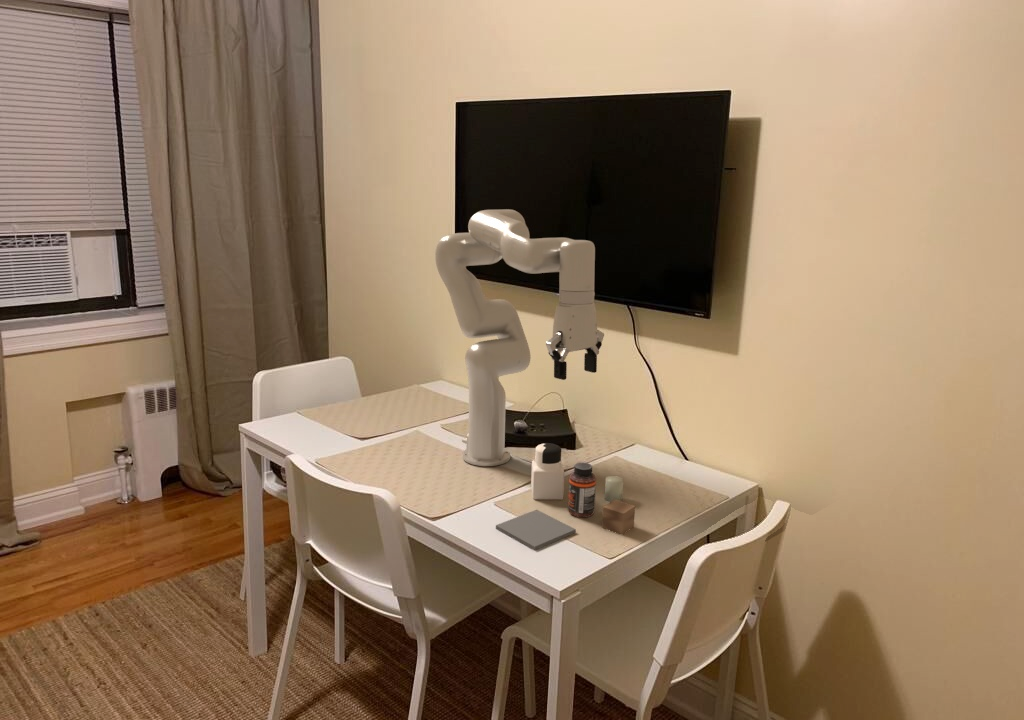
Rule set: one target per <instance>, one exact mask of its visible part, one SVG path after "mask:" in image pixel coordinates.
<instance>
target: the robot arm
mask: <svg viewBox="0 0 1024 720" xmlns="http://www.w3.org/2000/svg"><path fill="white" fill-rule="evenodd" d="M467 228H468V232H456V233H451V234H448V235H445V236H443V237H441V239H439V241H438V242H437V244H436V246H435V247H436V248H435V252H434V253H435V264H436V268H437V271H438V274H439V276H440V278H441V280H442V282H443V284H444V285H445V287H446V289H447V291H448V293H449V296H450V300H451V303H452V306H453V309H454V312H455V315H456V318H457V322H458V325H459V327H460V330H461V332H462V334H463V335H464V336H465V337H466V338H468V339H481V338H488V337H489V338H490V337H495V336H496V337H497V338H495V339H487V340H482V341H481V340H480V341H478V342H475V343H473V344H472V345H470V346H469V347H468V348H467V350H466V352H465V357H464V359H465V367H466V372H467V374H466V375H467V381H468V433H467V434H466V435H465V437H462V439H461V442H462V443H463V444H465V445H466V448H465V449H464V450H463V452H462V455H461V456H462V459H463V461H464V462H466V463H468V464H471V465H473V466H480V467H494V466H500V465H503V464H506V463H507V462H509V461H510V459H511V452H510V450H508V449H506V447H505V445H506V444H505V441H506V439H505V438H506V436H505V435H506V407H507V406H506V404H507V403H506V399H507V397H506V390H505V388H504V386H503V385H502V383H501V382H500V379H499V377H502V376H503V377H504V376H507V375H513V374H518V373H522V372H523V371H525V370H527V369H528V367H529V366H530V365H531V364H530V363H531V350H530V347H529V342H528V340H527V337H526V334H525V331H524V329H523V326H522V322H521V320H520V317H519V314H518V311H517V309H516V308H515V306H514V305H513V304H512V303H511V302H510V301H509V300H507V299H503V298H499V299H495V298H494V299H487V298H486V295H485V294H484V292H483V289H482V285H481V283H480V281H479V280H478V278H477V277H476V276H475V275H474V274H473V273H472V272H471V271H469V270H468V269H467V267H469V266H473V267H474V266H485V265H493V264H496V263H498V262H499V261H500V260H503V261H504V262H505V264H506V265H508V266H509V267H511V268H513V269H516V270H518V271H521V272H523V273H526V274H535V275H536V274H542V273H543V274H545V273H559V275H558V277H559V278H558V279H559V280H558V281H559V286H558V287H559V288H558V289H559V290H558V293H559V294H558V295H559V296H558V298H559V299H558V301H559V302H558V304H557V305H556V306H555V311H554V317H553V325H552V326H553V327H552V337H550V339H549V340H547V341H546V343H545V345H546V348H547V351H548V355H549V356H550V357H551V360H552V361H553V377H554V379H557V380H561V381H562V380H563V381H565V380H566V379H567V371H568V370H567V369H568V368H567V366H568V365H567V364H568V363H567V361H565V360H566V359H567V356H568V354H569V353H573V352H577V351H582V350H585V352H586V353H584V356H583V357H584V359H583V360H584V361H583V362H584V363H583V364H584V365H583V366H584V367H583V369H584V371H585V372H589V373H597V371H598V370H597V369H598V367H597V364H598V360H597V359H598V355H599V354H600V349H601V347H602V345H603V344H602V343H603V340H604V337H605V333H604V332H602V331H600V330H599V329H598V316H597V308H596V303H595V296H596V295H595V294H596V293H595V270H596V269H595V265H596V264H595V261H596V247H595V244H594V242H593V241H591V240H586V239H573V238H569V237H542V238H530V237H531V236H530V231H529V227H528V226H527V224H526V221H525V218H524V217H523V215H522V214H521V213H520V212H518V211H516V210H514V209H509V208H508V209H507V208H506V209H484V210H479V211H477V212H475V213H474V214H473V215H472V216H471V217H470V219H469V221H468V225H467Z"/></svg>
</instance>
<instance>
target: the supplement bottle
mask: <svg viewBox="0 0 1024 720" xmlns="http://www.w3.org/2000/svg"><path fill="white" fill-rule="evenodd" d="M568 480H569V481H568V498H567V499H568V500H567V502H568V503H567V511H568V513H569V514H570V515H572V516H574V517H577V518H587V517H591V516H593V514H594V513H595V505H596V488H597V487H596V486H597V477H596V475H595V474H594V473H593V464H590V463H588V462H584V461H583V462H577V463H575V464H574V466H573V472H571V473H570V475H569V479H568Z"/></svg>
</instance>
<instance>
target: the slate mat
mask: <svg viewBox="0 0 1024 720" xmlns="http://www.w3.org/2000/svg"><path fill="white" fill-rule="evenodd" d="M495 529H496V530H498V531H499V532H501V533H503V534H504V535H506V536H508V537H509V538H512V539H514V540H515V541H517V542H519V543H520V544H523V545H524V546H526V547H527V548H529V549H531V550H533V551H536V550H538V549H540V548H543V547H546V546H547V545H550V544H552V543H555V542H556V541H559V540H562V539H564V538H566V537H569V536H571V535H574V534H576V531H577V530H576V528H574V527H572V526H570V525H568V524H566V523H564V522H563V521H561V520H558V519H557V518H554V517H552V516H550V515H549V514H546V513H545V512H542V511H541V510H539V509H535V510H532V511H529V512H527V513H524V514H522V515H519V516H516V517H512V518H511V519H508V520H506V521H503V522H501V523H498V524H495ZM573 533H574V534H573Z"/></svg>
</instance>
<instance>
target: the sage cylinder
mask: <svg viewBox="0 0 1024 720" xmlns="http://www.w3.org/2000/svg"><path fill="white" fill-rule="evenodd" d="M623 485H624V479H623V478H622V477H620V476H616V475H609V476H606V477H605V485H604V501H606V502H607V503H610V502H612V501H613V500H615V499H616V500H619V501H622V502H623V491H624V490H623V488H624V486H623Z"/></svg>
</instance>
